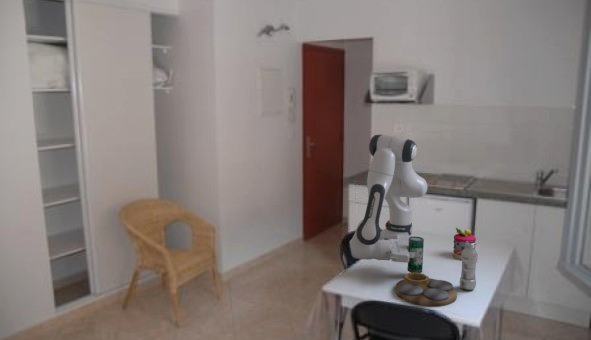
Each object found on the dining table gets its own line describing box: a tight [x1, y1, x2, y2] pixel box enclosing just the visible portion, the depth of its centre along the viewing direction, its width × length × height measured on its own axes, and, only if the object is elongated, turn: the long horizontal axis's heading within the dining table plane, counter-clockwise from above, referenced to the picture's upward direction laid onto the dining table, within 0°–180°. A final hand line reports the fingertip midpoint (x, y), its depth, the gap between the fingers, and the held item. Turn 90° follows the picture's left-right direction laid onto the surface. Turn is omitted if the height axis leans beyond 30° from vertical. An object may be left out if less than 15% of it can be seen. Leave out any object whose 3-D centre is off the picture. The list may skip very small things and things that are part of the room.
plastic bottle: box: [459, 241, 479, 291], centre depth 195 cm, size 6×7×20 cm
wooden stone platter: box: [395, 272, 458, 307], centre depth 192 cm, size 24×24×4 cm
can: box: [407, 235, 425, 274], centre depth 208 cm, size 6×6×15 cm
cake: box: [452, 227, 477, 261], centre depth 233 cm, size 10×10×15 cm
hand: (417, 251), depth 208 cm, fingers closed on can, 6 cm apart
